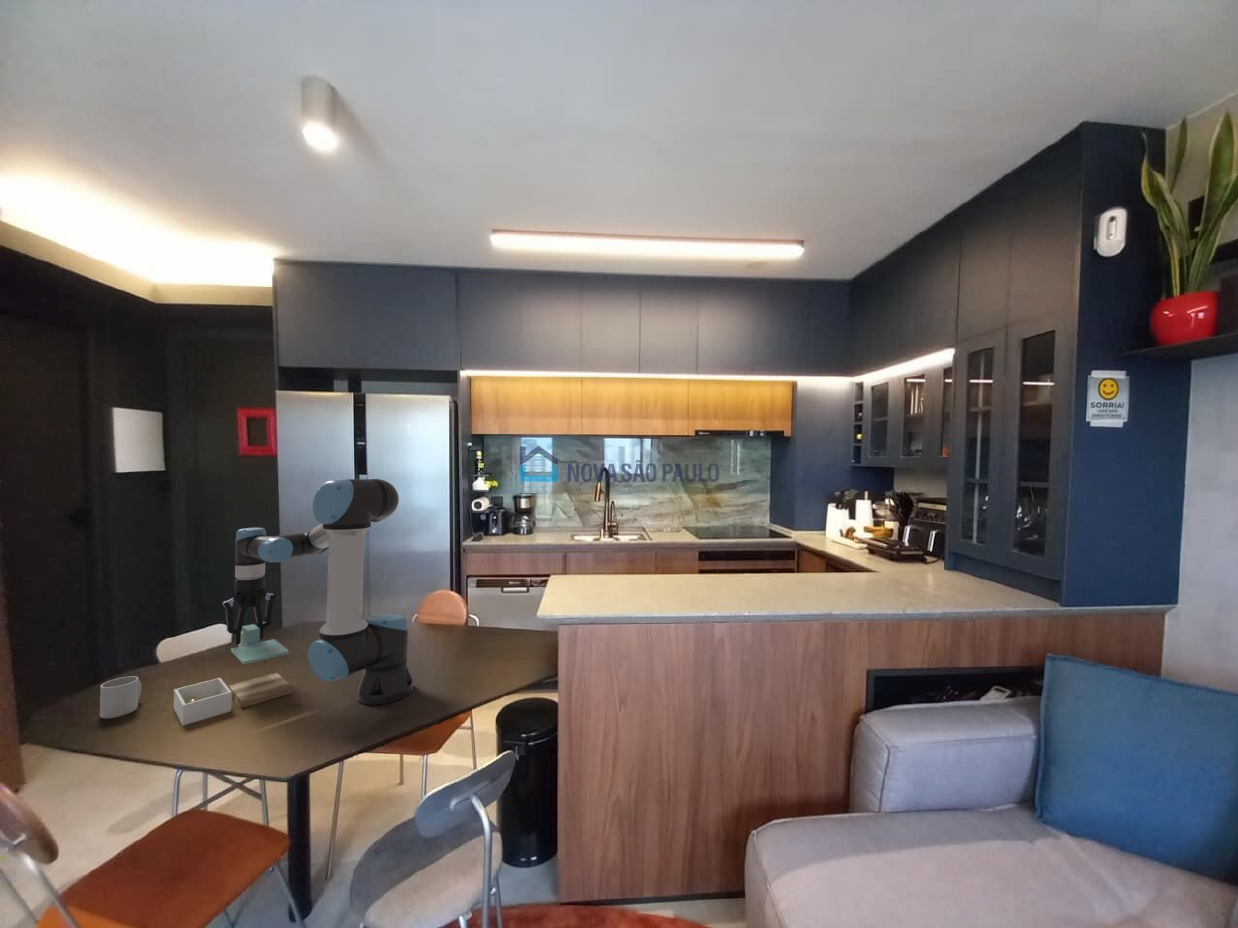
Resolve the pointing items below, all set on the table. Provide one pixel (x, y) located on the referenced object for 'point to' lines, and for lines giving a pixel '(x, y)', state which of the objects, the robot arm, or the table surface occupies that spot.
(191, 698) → the gold round piece
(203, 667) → the table surface
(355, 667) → the robot arm
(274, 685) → the wooden block
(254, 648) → the lid
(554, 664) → the table surface
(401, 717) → the table surface
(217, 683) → the tub
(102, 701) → the cup
